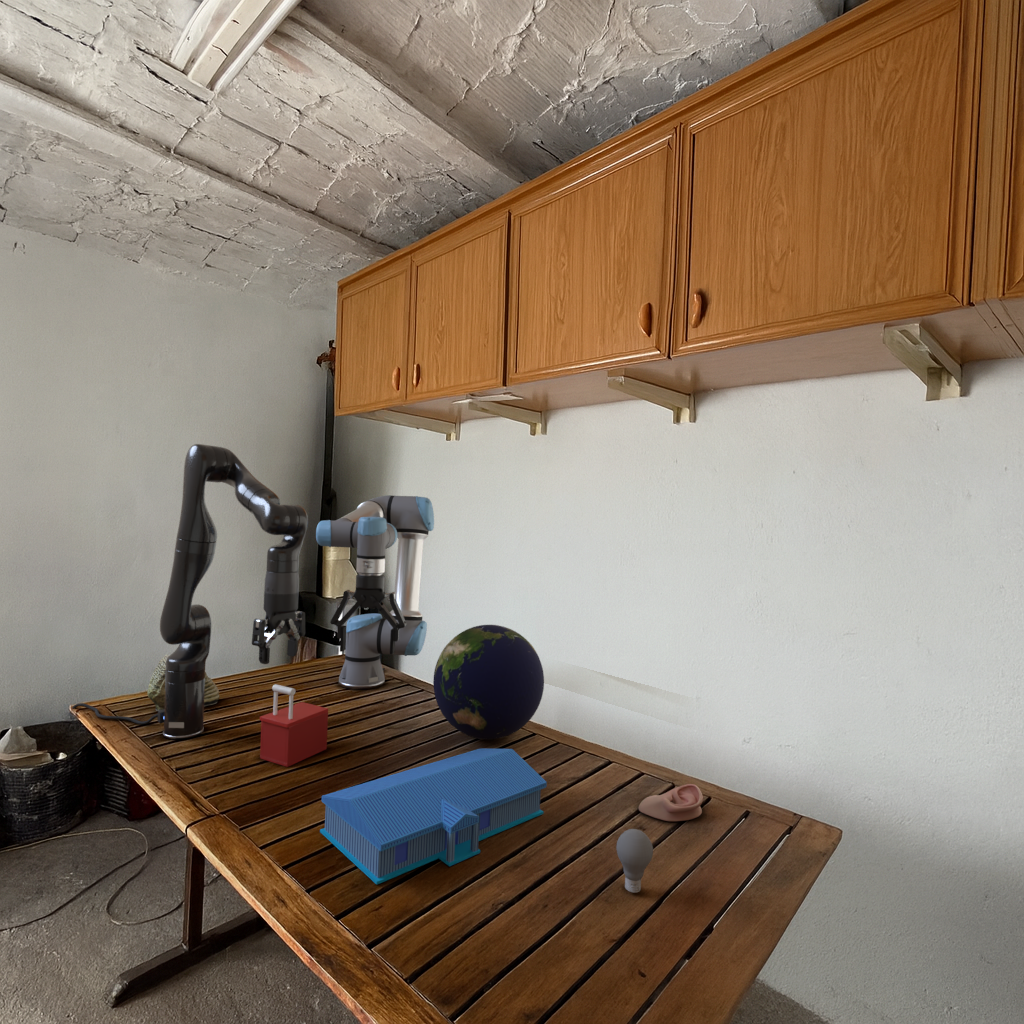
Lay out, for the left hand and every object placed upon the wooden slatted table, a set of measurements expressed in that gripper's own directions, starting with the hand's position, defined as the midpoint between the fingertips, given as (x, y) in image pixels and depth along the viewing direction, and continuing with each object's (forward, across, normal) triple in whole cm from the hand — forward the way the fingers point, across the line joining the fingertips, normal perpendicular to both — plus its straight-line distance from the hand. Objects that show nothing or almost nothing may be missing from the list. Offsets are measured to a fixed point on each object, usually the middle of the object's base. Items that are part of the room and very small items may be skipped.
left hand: (278, 659), depth 147 cm
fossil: (+25, +17, +52) cm, 60 cm away
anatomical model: (+24, +24, -87) cm, 94 cm away
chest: (+25, +8, +1) cm, 26 cm away
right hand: (+3, +28, -4) cm, 29 cm away
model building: (+24, -5, -48) cm, 54 cm away
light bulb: (+24, -8, -87) cm, 90 cm away
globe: (+25, +42, -35) cm, 60 cm away
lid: (+16, +7, +1) cm, 17 cm away
